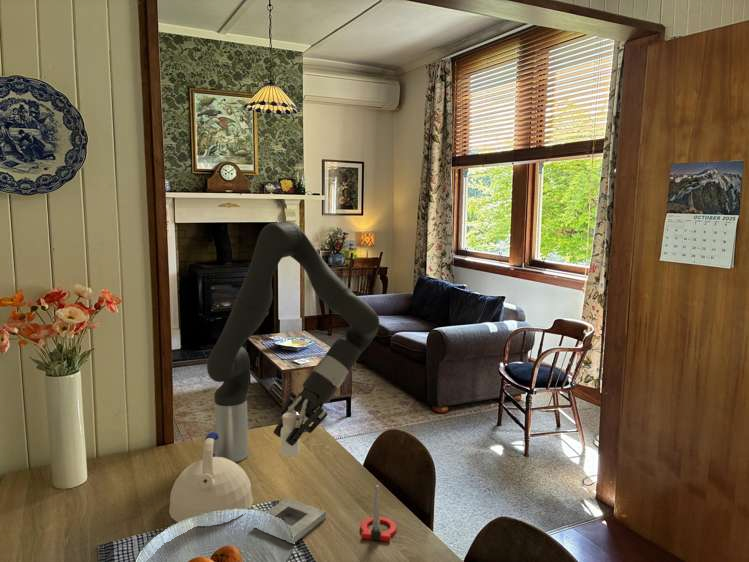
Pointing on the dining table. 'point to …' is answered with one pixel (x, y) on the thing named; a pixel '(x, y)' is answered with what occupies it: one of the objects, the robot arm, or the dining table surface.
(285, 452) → the salt shaker
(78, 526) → the dining table surface
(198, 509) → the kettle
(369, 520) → the tow hook
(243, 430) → the robot arm
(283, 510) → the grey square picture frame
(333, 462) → the dining table surface
